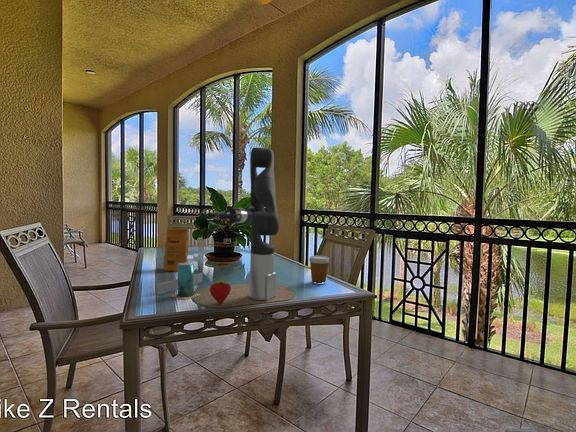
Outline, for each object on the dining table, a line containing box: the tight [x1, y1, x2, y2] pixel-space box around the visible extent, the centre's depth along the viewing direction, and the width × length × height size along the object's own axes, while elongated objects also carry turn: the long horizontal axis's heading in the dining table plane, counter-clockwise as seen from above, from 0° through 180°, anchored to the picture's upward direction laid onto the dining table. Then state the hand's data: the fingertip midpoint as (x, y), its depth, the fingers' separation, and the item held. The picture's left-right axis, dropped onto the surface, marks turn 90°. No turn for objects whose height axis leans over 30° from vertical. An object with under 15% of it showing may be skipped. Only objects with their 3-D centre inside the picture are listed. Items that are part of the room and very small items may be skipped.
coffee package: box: [163, 227, 189, 273], centre depth 170 cm, size 10×12×22 cm
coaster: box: [169, 292, 202, 301], centre depth 126 cm, size 8×8×1 cm
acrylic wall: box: [155, 272, 203, 296], centre depth 137 cm, size 1×24×4 cm, turn 152°
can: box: [177, 261, 195, 297], centre depth 126 cm, size 6×6×12 cm
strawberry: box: [209, 276, 232, 305], centre depth 117 cm, size 6×8×10 cm
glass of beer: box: [308, 255, 330, 283], centre depth 151 cm, size 10×10×12 cm
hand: (212, 216), depth 142 cm, fingers open, 8 cm apart
